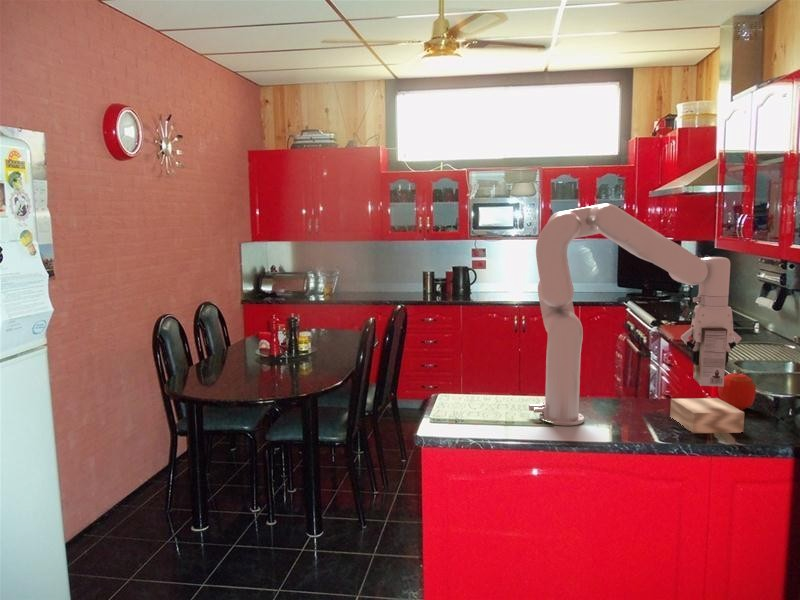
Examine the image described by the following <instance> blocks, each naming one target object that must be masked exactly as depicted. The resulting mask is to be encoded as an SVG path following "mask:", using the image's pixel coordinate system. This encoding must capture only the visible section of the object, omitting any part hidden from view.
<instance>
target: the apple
mask: <svg viewBox="0 0 800 600" xmlns="http://www.w3.org/2000/svg"><path fill="white" fill-rule="evenodd" d="M756 390H757V389H756V385H755V383H754V382H753V380H752V378H751V377H749V376H748V375H747V374H743V373H739V372H737V373H735V372H734V373H728V374H725V375H724V386H718V390H717V391H718V395H719V399H720V400H722V401H724V402H726V403H728V404H730V405H732V406H733V407H735V408H737V409H739V410H741V411H744V410H745V409H747V408H750V406H752V405H753V403H754V402H755V401H754V400H755V399H756V395H757V394H756V393H757V392H756Z"/></svg>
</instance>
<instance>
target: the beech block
mask: <svg viewBox="0 0 800 600" xmlns="http://www.w3.org/2000/svg"><path fill="white" fill-rule="evenodd" d="M669 410H670V411H669V418H670V417H671V418H670V419H672V418H673V419H674V420H676V421H677V422H679V423H680V424H681V425H680V424H679V423H678V424H679V425H680V426H682V425H683V426H684V427H683V426H682V427H683V428H685V429H686V430H687V431H689V432H690V431H691V433H692V434H727V433H728V434H730V433H731V434H733V433H735V434H739V433H741V432H743V433H744V424H745V411H744V410H739V409H737V408H735V407H733V406H732V405H730V404H728V403H726V402H724V401H722V400H721V399H720V398H718V397H716V398H715V397H710V398H705V397H703V398H701V397H700V398H696V397H695V398H670V409H669ZM673 419H672V420H673ZM674 420H673V421H674ZM676 421H675V422H676ZM677 422H676V423H677Z"/></svg>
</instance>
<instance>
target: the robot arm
mask: <svg viewBox="0 0 800 600" xmlns="http://www.w3.org/2000/svg"><path fill="white" fill-rule="evenodd" d="M599 234H600V235H602V236H603V237H605V238H607V239H608V240H610V241H611V242H613V243H615V244H616V245H618V246H619V247H621V248H622V249H624V250H626V251H627V252H628V253H630V254H632V255H634V256H635V257H637V258H639V259H641V260H644V261H646V262H648V263H652V264H653V265H655V266H657V267H659V268H661V269H662V270H664V271H666V272H668V275H669V276H670V277H671V279H672V280H674V281H676V282H677V283H681V284H685V285H688V286H698V294H697V296H696V297H695V296H694V297H692V302H693V303H697V305H695V306H694V310H693V315H692V320H691V324H690V328H689V329H688V330H686V331H685V332H684V333H683V334H681V336H680V339H681V341H683V342H684V344H685V345H686V346H687V347H688V348H689V349H690V350H691V354H690V360H691V362H692V364H693V366H694V365H697V366H698V365H699V351H698V348H699V347H700V343H701V341H702V328H726V329H727V330H728V332H727V347H726V360H725V367H727V364H728V363H729V358H730V357H729V355H730V352H731V351H732V349H734V348H735V347H736V346H737V344H738V343H740V341H742V338H743V337H741V335H739V334H738V333H737V332H736V331H734V320H733V311H732V307H731V306H729V293H730V275H731V261H730V259H729V258H727V257H723V256H705V257H699V256H698V255H696V254H694V253H693V252H691V251H689V250H688V249H686V248H684V247H683V246H681V245H680V244H678V243H677V242H674V241H673V240H671V239H669V238H668V237H665V235H663V234H662V233H660V232H658V231H656V230H655V229H653V228H652V227H650V226H648V225H647V224H646V223H644V222H642V221H640V220H639V219H637V218H636V217H634V216H632V215H630V214H629V213H628V212H626V211H624V210H623V209H622V208H620V207H619V206H617V205H615V204H612V203H600V204H594V205H590V206H585V207H580V208H574V209H568V210H561V211H557V212H554V213H553V214H551V216H550V217H549V219H548V220H547V223H546V224H545V225H544V227H543V228H542V230H541V232H540V233H539V235H538V238H537V240H536V246H535V256H536V257H535V258H536V264H537V271H538V277H539V281H538V284H537V296H538V300H539V306H540V307H539V308H540V311H541V315H542V322H543V326H544V328H545V329H544V330H545V331H546V333H547V342H546V343H547V344H546V357H545V358H546V360H545V366H546V367H545V393H544V394H545V397H544V398H545V399H544V400H543V401H542V403H539V404H536V403H535V404H534V403H533V404H532V403H531V404H530V403H529V404H528V411H529V412H533V414H534V413H538V415H539V416H538V417H540V418H541V419H544V420H547V421H551V422H553V423H554V424H553V425H555V426H561V427H562V426H563V427H564V426H577V425H581V424H583V423H584V421H585V417H584V415H583V414H581V413H579V410H580V386H581V385H580V384H581V378H580V377H581V357H582V355H581V353H582V344H583V338H584V337H583V336H584V335H583V334H584V332H583V331H584V330H583V328H584V327H583V325H582V322H581V320H580V318H579V317H578V316H577V315H576V314H575V313H576V312H575V307H574V303H573V302H574V301H573V298H574V294H575V291H574V290H575V289H574V284H573V281H572V277H571V272H570V266H569V260H568V248H569V245H570V243H571V242H572V241H573V240H574V239H576V238H583V237H589V236H595V235H599ZM690 338H691V339H692V340H693V341H690ZM540 418H539V419H540ZM541 419H540V420H541Z"/></svg>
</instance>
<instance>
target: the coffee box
mask: <svg viewBox="0 0 800 600" xmlns="http://www.w3.org/2000/svg"><path fill="white" fill-rule="evenodd" d="M727 332H728V330H727V329H726V328H702V341H701V343H700V347H699V348H698V351H699V365H698V366H697V365H694V364H693V376H692V377H693V379H694V380H695V381H696V382H697V383H698V384H699V386H706V387H719V386H724V376H726V374H725V373H726V366H725V360H726V347H727Z"/></svg>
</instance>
